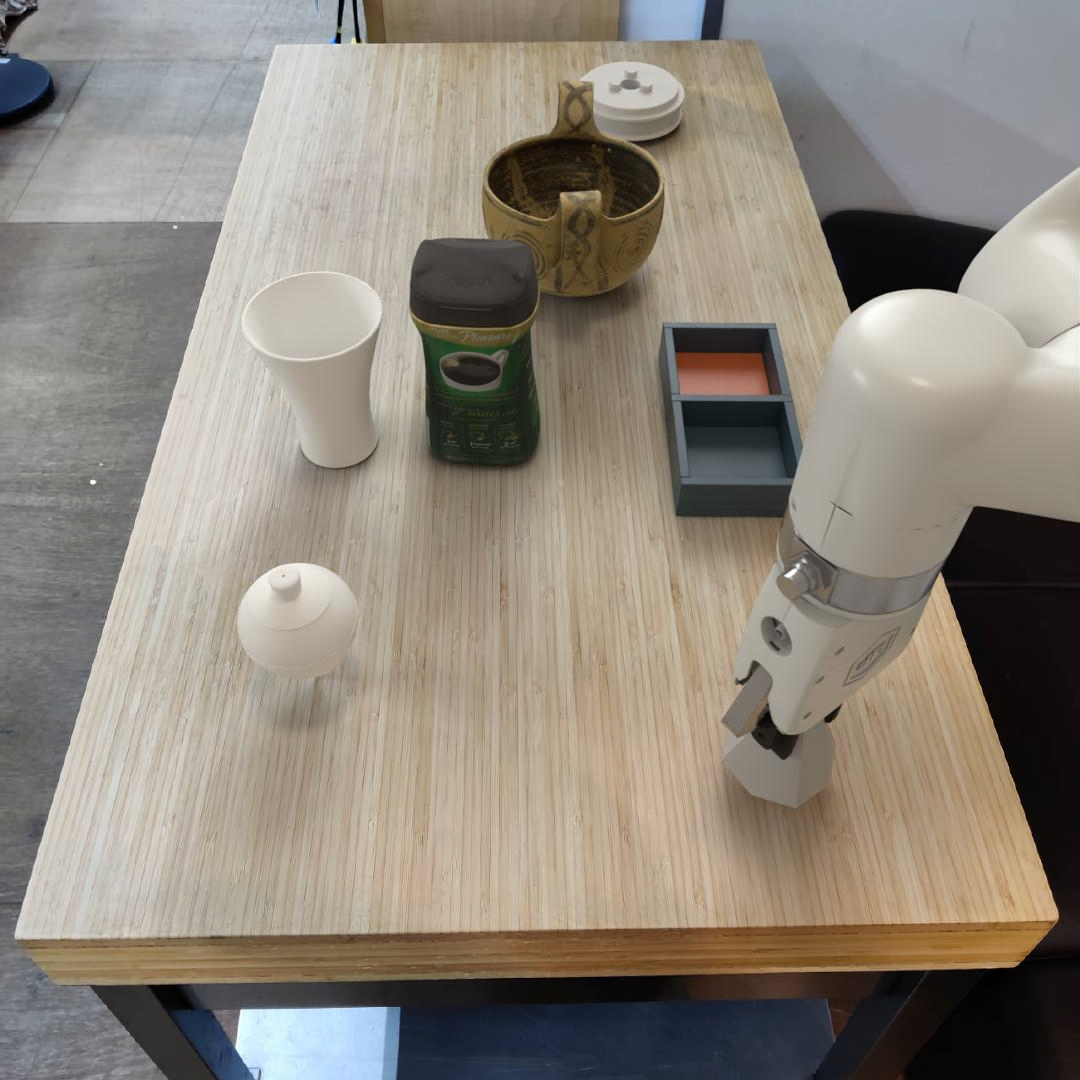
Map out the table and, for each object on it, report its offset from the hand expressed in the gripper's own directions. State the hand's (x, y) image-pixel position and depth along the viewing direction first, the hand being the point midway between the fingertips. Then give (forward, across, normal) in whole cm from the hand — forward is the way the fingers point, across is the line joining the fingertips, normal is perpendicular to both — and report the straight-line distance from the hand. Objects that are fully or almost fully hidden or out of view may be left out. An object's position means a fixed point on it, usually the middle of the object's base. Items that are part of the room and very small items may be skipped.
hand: (791, 721), depth 61 cm
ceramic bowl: (+6, +22, +49) cm, 55 cm away
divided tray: (+6, +19, +24) cm, 32 cm away
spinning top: (+6, -21, +24) cm, 32 cm away
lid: (+6, +46, +68) cm, 83 cm away
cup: (+6, -8, +43) cm, 44 cm away
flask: (+5, 0, 0) cm, 5 cm away
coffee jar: (+6, +2, +36) cm, 37 cm away
